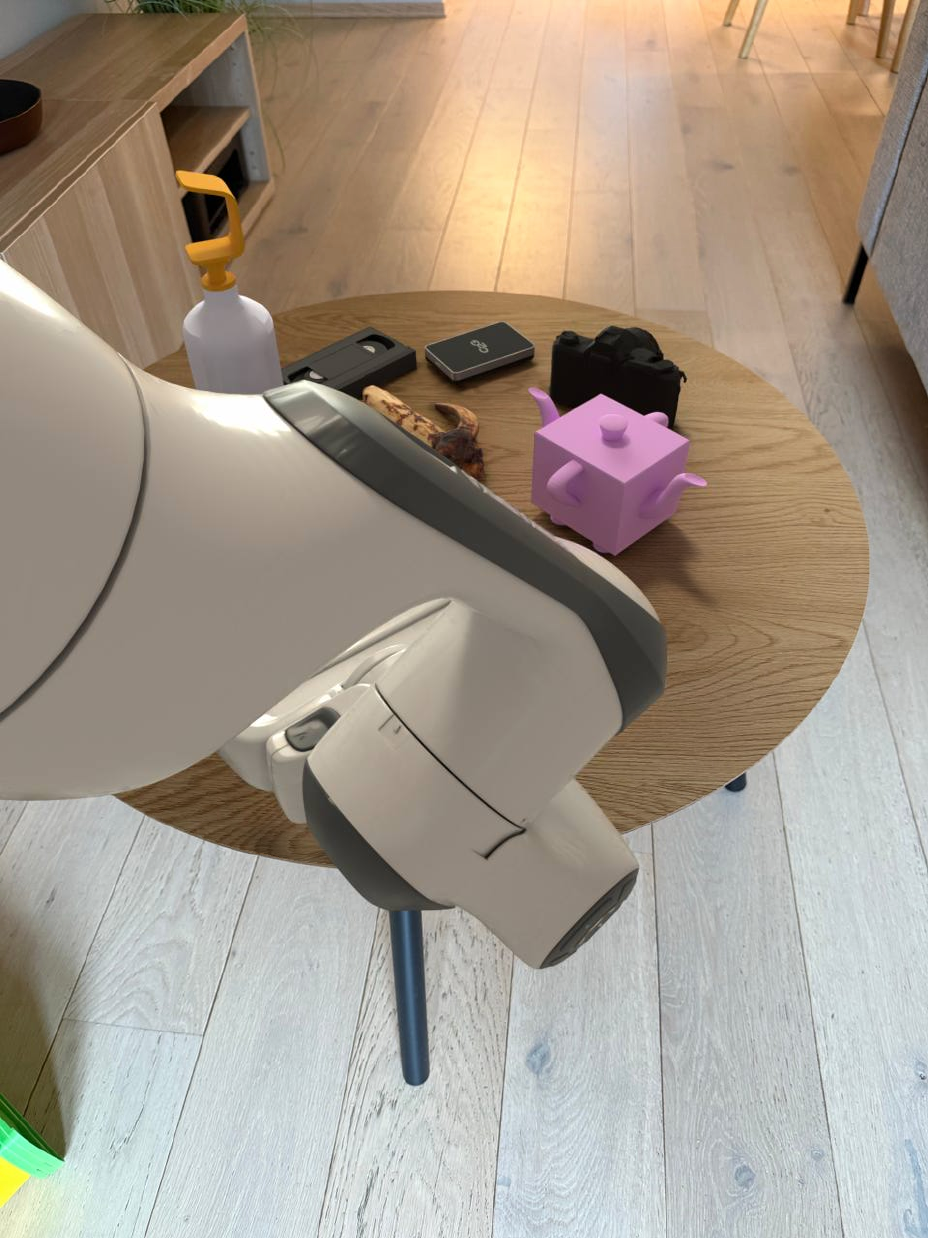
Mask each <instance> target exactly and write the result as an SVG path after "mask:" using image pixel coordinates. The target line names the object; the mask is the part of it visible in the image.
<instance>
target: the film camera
mask: <svg viewBox="0 0 928 1238" xmlns="http://www.w3.org/2000/svg"><path fill="white" fill-rule="evenodd" d="M664 355H665V354H664V352H663V351H662V349H661V348H660V345H659V343H658V341H657V339H656V338H655V336H654V335H653V334H652V333H651V332H649V331H648V330H647V329H644V328H641V327H637V326H632V327H626V328H623V327H620V326H616V325H609V326H607V327H605V328H604V329H602V330H601V332H599V333H598V334H597V335H596V336H595V337H594V338H590V337H587V336H583V335H580V334H578V333H577V332H575V331H573V330H563V331H562V332H561V333H560V334H558V335H556V336H555V340H554V341H553V343H552V346H551V359H550V360H551V361H550V365H551V366H550V378H549V379H550V380H549V388H548V389H549V397H550V398H551V400H552V401H553V403H556V404H559V405H561V406H564V407H567V408H570V409H571V410H574V409H575V408H577V407H579V406H581V405H582V404H584V403H586V402H588V401H590V400H591V399H593V398H595V397H596V396H598V395H600V394H602V395H604V396H606V397H608V398H610V399H612V400H614V401H616V402H618V403H620V404H622V405H624V406H626V407H628V408H630V409H632V410H633V411H635V412H637V413H639V414H641V415H643V416H646V415H648V414H651V413H654V412H660V413H664V414H665V415H666V416H667V417H668V426H667V428H668V429H669V430H671V431H672V429H673V428H674V427H675V421H676V416H677V412H678V406H679V405H678V404H679V398H680V394H681V390H682V386H681V381H682V379H683V384H686V383H687V382H688V381H687V380H688V377H687V375H686V374H685V372H684V370H680V367H679V366H678V365H676V364H675V363H674V362H673V361H672V360H671V359H664V358H665V357H664Z"/></svg>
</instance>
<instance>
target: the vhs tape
mask: <svg viewBox="0 0 928 1238" xmlns="http://www.w3.org/2000/svg"><path fill="white" fill-rule="evenodd" d="M417 363H418V362H417V350H415V349H414V348H412V347H410V346H407V345H405V344H404V343H402V342H400V341H398V340H397V339H395V338H393V337H391V336H389V335H388V334H386V333H384V332H382V331H380V330H378V329H376V328H375V327H373V326H367V327H365V328H363V329H361V330H359V331H357V332H355V333H352V334H351V335H348V336H347V337H345V338H342V339H340V340H338V341H336V342H333V343H332V344H330V345H327V346H325V347H322V348H321V349H319V350H316V351H315V352H313V353H311V354H308V355H307V356H303V357H302V358H300V359H298V360H296V361H294V362H292V363H289V364H288V365H285V366H283V367H281V373H282V379H283V385H288V384H291V383H295V382H298V381H302V380H307V381H310V382H314V383H317V384H321V385H324V386H327V387H330V388H332V389H335V390H337V391H340V392H343V393H345V394H347V395H349V396H351V397H353V398H355V399H357V398H358V397H359V396H361V395H363V390H364V388H366V387H369V386H372V385H373V386H376V387H380V385H383V384H385V383H386V382H389V381H390V380H392V379H395V378H396V377H398V376H400V375H402V374H404V373H406V372H407V371H410V370H412V369H413V368H415V367H417Z"/></svg>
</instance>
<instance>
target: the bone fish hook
mask: <svg viewBox="0 0 928 1238" xmlns="http://www.w3.org/2000/svg"><path fill="white" fill-rule="evenodd" d="M362 399H363V402H364V403H365V404H366V405H368V406H370V407H372V408H373V409H375V410H376V411H378V412H380V413H381V414H383V415H384V416H386V417H387V418H389V419H390V420H392V421H393V422H395V423H396V424H398V425H399V426H401V427H402V428H404V429H405V430H407V431H408V432H410V433H411V434H413V435H414V436H416V437H417V438H419V439H420V440H422V441H423V442H424V443H426V444H427V445H429V446H430V447H432V448H433V449H434V450H436V451H437V452H439V453H440V454H442V455H443V456H444V457H446V458H447V459H449V460H450V461H451V462H453V463H454V464H455V465H457V466H458V467H460V468H461V469H462V470H464V471H465V472H466V473H468V474H469V475H471V476H472V477H473V478H475V479H476V480H477V481H479V480H480V479H482V478H483V477H484V476H486V470H485V462H484V453H483V448H482V447H479V446H476V443H475V442H476V440H477V437H478V435H479V432H480V423H479V420H478V418H477V416H476V415H475V414H474V413H473V412H472V411H471V410H469V409H467V408H466V407H464V406H461V405H457V404H453V403H448V402H437V403H436V402H435V404H434V407H435V408H436V410H439V411H441V412H443V413H445V414H447V415H451V416H452V417H455V419H456V420H457V422H458V425H457V428H454V429H451V430H449V431H447V432H446V431H444V430H443V428H441V427H439V426H438V425H437V424H435V422H432V421H431V420H430V419H428V417H425V416H424V415H421V414H419V413H418V412H416V410H413V409H412V408H411V407H410V406H408V405H407V404H405V403H403V401H401V400H400V398H398V397H397V396H395V395H393V394H392V393H389V392H388V391H387V390H385V389H382V388H380V387H379V386H377V387H376V386H373V385H372V386H369V387H366V388H364V390H363V394H362Z"/></svg>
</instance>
